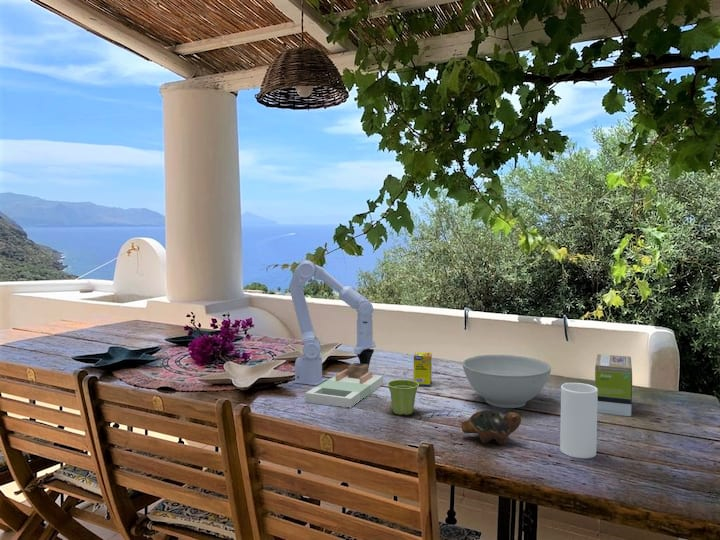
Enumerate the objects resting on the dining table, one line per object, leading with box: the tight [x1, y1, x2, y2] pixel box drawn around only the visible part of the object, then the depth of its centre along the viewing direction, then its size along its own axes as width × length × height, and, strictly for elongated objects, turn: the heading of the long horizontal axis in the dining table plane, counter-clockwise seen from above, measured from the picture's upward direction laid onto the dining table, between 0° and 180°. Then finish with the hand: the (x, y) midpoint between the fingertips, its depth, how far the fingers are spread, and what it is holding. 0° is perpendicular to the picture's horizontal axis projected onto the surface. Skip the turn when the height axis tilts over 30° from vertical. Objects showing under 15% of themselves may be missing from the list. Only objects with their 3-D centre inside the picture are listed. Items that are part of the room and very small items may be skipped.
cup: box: [559, 382, 598, 459], centre depth 130 cm, size 8×8×16 cm
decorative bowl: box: [462, 354, 552, 409], centre depth 168 cm, size 27×27×12 cm
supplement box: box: [413, 351, 433, 388], centre depth 188 cm, size 6×6×11 cm
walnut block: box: [347, 362, 369, 379], centre depth 188 cm, size 6×6×4 cm
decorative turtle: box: [460, 409, 522, 446], centre depth 137 cm, size 10×15×8 cm, turn 80°
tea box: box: [594, 353, 633, 417], centre depth 162 cm, size 15×10×15 cm, turn 154°
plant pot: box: [387, 379, 420, 416], centre depth 160 cm, size 9×9×9 cm
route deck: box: [304, 368, 385, 409], centre depth 179 cm, size 16×28×5 cm, turn 156°
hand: (365, 369), depth 194 cm, fingers closed
